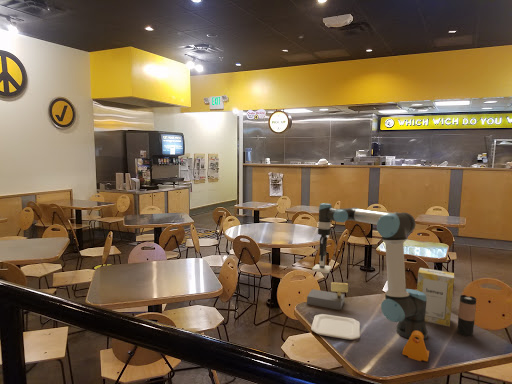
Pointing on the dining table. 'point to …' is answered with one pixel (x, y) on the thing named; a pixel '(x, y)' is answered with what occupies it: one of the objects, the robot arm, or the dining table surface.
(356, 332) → the plate
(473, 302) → the travel mug
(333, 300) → the block
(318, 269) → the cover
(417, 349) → the bracket
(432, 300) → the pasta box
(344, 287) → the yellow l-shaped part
